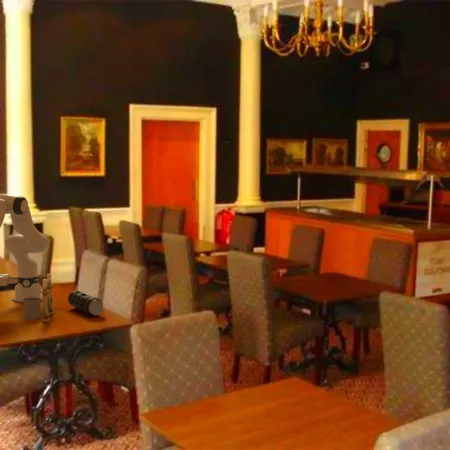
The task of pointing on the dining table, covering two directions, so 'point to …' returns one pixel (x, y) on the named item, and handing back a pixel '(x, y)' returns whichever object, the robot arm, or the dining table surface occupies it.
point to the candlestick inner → (49, 294)
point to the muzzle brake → (85, 303)
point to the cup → (31, 308)
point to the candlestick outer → (45, 302)
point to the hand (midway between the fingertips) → (17, 280)
